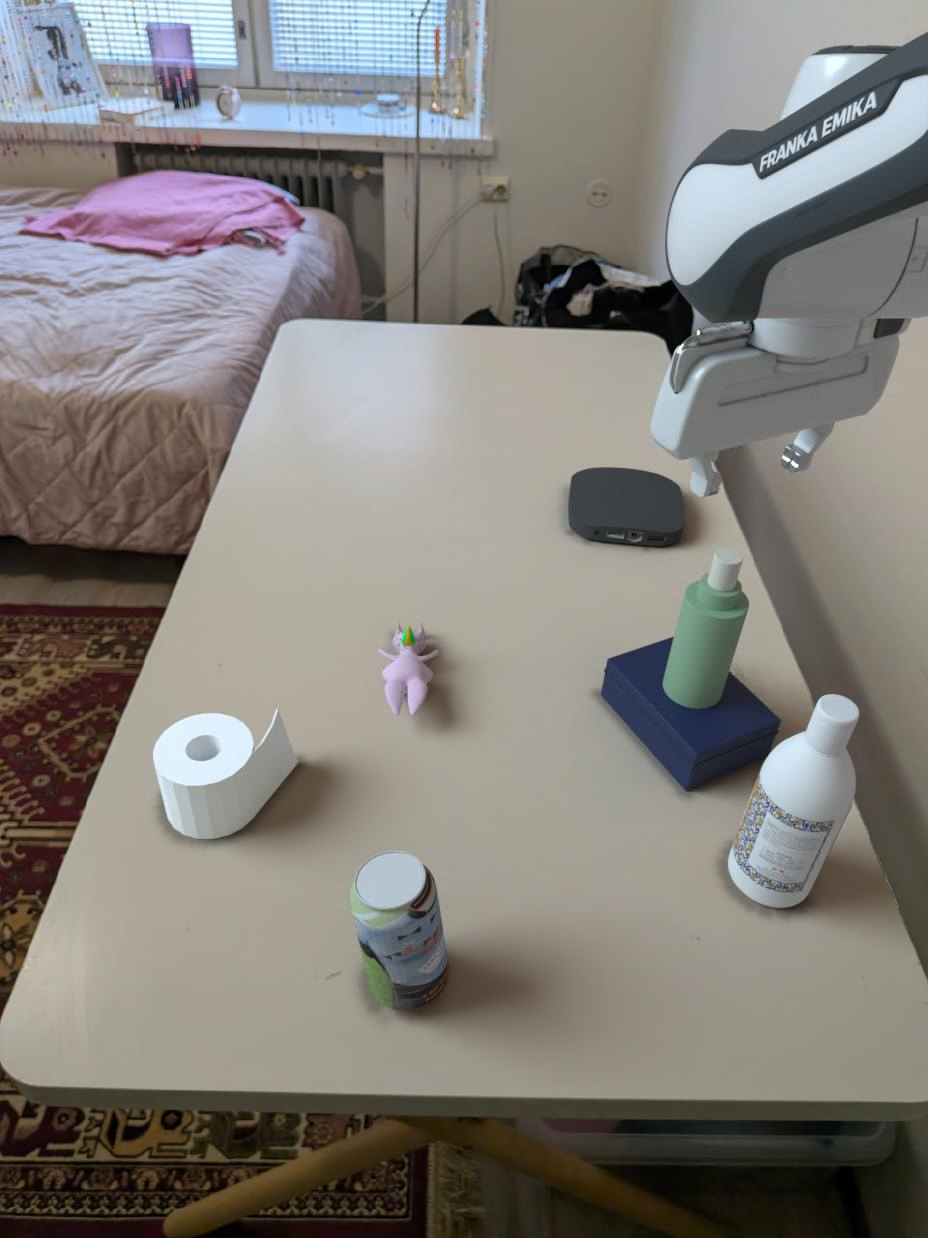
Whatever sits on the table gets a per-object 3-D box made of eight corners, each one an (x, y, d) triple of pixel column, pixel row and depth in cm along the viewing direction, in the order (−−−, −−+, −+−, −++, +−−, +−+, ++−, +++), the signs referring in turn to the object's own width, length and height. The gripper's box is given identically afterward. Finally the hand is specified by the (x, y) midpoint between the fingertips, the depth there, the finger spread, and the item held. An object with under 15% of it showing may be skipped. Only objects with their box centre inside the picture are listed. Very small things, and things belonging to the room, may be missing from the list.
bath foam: (761, 828, 82) (827, 661, 69) (826, 883, 78) (910, 716, 65) (709, 866, 79) (768, 698, 66) (774, 926, 75) (851, 758, 62)
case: (772, 755, 89) (786, 719, 86) (685, 792, 85) (696, 755, 82) (681, 665, 98) (690, 629, 95) (599, 694, 94) (606, 658, 91)
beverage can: (429, 1032, 67) (432, 940, 59) (338, 994, 68) (330, 900, 61) (461, 958, 71) (469, 864, 63) (375, 924, 73) (372, 829, 65)
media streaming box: (675, 489, 126) (679, 470, 124) (684, 551, 115) (689, 531, 113) (568, 480, 127) (571, 461, 125) (567, 540, 116) (569, 520, 114)
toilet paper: (297, 763, 86) (292, 709, 81) (224, 853, 78) (214, 799, 73) (224, 733, 88) (215, 680, 84) (146, 818, 80) (131, 764, 76)
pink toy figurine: (381, 645, 101) (371, 728, 88) (381, 597, 98) (371, 676, 85) (438, 647, 101) (437, 730, 88) (440, 599, 98) (439, 678, 85)
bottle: (733, 698, 88) (776, 565, 78) (686, 716, 86) (724, 582, 76) (696, 662, 91) (732, 531, 81) (650, 678, 89) (682, 545, 79)
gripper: (710, 350, 59) (669, 530, 68) (932, 306, 67) (869, 473, 76) (651, 314, 63) (620, 488, 72) (866, 277, 71) (814, 438, 80)
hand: (749, 480), depth 74 cm, fingers open, 8 cm apart
